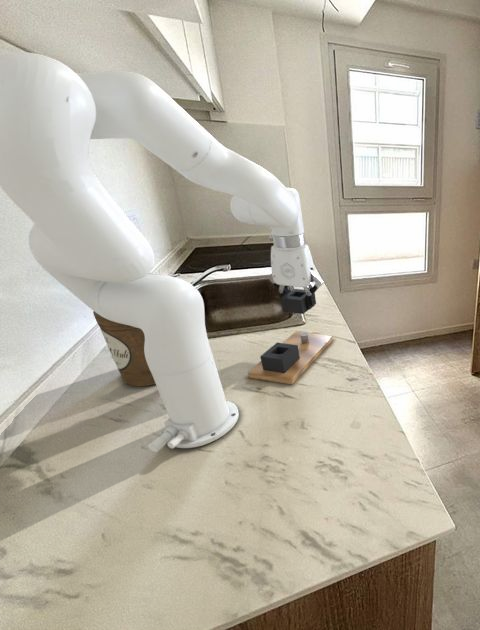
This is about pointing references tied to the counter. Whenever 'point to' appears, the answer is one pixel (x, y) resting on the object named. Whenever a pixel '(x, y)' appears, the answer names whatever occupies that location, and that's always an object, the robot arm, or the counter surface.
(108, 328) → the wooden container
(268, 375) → the wooden board
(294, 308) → the dark grey hollow block
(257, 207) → the robot arm
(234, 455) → the counter surface
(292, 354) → the black hollow rectangular block
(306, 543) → the counter surface
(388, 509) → the counter surface
